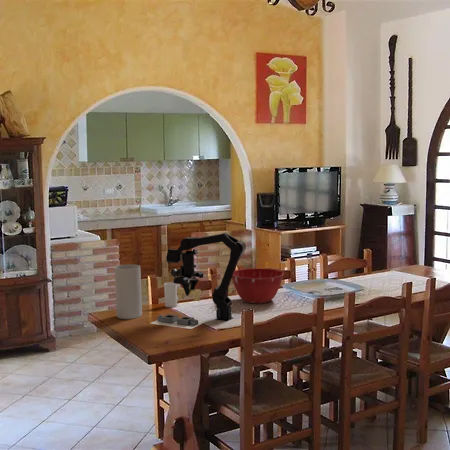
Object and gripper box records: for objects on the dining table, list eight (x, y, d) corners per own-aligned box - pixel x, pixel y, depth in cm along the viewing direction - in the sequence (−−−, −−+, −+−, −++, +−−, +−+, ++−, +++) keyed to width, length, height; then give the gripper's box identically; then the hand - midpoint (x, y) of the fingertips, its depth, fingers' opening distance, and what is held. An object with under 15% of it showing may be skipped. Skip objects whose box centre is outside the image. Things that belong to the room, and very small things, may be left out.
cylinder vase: (129, 321, 305) (127, 270, 302) (111, 317, 313) (109, 267, 310) (147, 315, 315) (145, 266, 312) (129, 312, 323) (127, 263, 320)
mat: (205, 322, 300) (205, 321, 299) (191, 329, 288) (191, 328, 288) (165, 317, 310) (165, 316, 310) (149, 324, 299) (149, 323, 299)
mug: (168, 308, 329) (167, 285, 328) (162, 305, 335) (161, 283, 333) (185, 305, 335) (184, 282, 333) (179, 302, 340) (178, 280, 339)
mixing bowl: (258, 292, 361) (258, 265, 359) (295, 300, 339) (294, 272, 337) (220, 300, 343) (219, 272, 341) (256, 310, 321) (255, 280, 319)
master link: (201, 300, 306) (201, 289, 306) (198, 301, 304) (198, 291, 303) (180, 297, 312) (180, 287, 311) (177, 298, 309) (176, 288, 309)
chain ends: (200, 323, 297) (199, 318, 297) (193, 326, 292) (193, 321, 291) (162, 318, 307) (162, 313, 307) (155, 321, 302) (155, 316, 301)
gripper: (184, 259, 318) (185, 289, 320) (163, 265, 301) (164, 297, 303) (203, 260, 312) (204, 291, 314) (183, 267, 296) (184, 299, 298)
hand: (189, 294), depth 308 cm, fingers closed on master link, 3 cm apart
